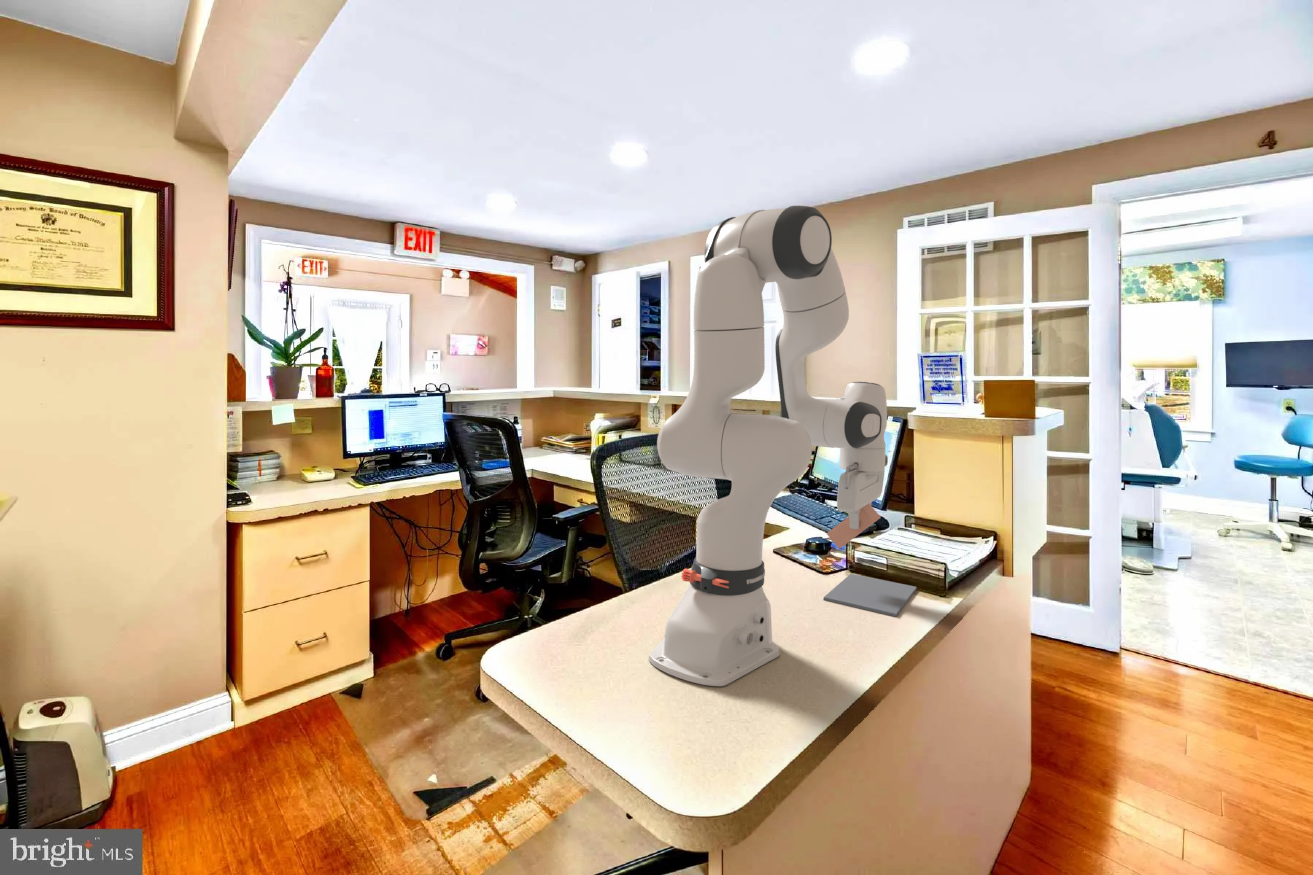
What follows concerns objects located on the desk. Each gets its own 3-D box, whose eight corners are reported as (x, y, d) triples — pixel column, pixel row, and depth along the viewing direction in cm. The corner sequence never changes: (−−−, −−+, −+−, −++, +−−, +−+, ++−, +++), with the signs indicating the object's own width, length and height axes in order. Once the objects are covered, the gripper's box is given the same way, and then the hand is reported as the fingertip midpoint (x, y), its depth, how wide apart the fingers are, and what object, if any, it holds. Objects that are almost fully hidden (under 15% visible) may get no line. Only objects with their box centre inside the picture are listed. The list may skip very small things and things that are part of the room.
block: (839, 548, 120) (875, 521, 116) (826, 533, 122) (861, 505, 117) (845, 544, 124) (881, 517, 119) (833, 529, 125) (867, 502, 120)
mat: (896, 616, 108) (896, 613, 108) (823, 599, 116) (823, 596, 116) (916, 589, 122) (916, 586, 122) (850, 576, 130) (850, 573, 130)
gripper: (863, 468, 108) (859, 539, 110) (890, 456, 125) (887, 518, 126) (830, 465, 112) (827, 533, 113) (860, 454, 128) (858, 514, 130)
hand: (859, 525), depth 120 cm, fingers closed on block, 4 cm apart
